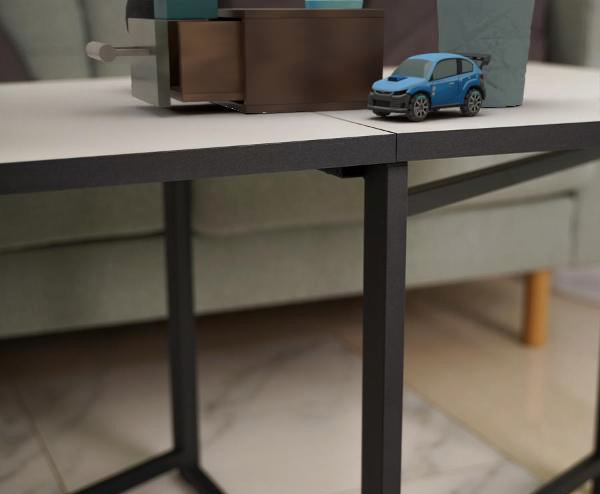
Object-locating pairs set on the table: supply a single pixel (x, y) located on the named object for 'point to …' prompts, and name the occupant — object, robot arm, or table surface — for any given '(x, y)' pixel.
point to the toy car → (431, 86)
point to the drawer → (181, 60)
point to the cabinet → (308, 58)
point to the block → (186, 9)
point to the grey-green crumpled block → (490, 42)
